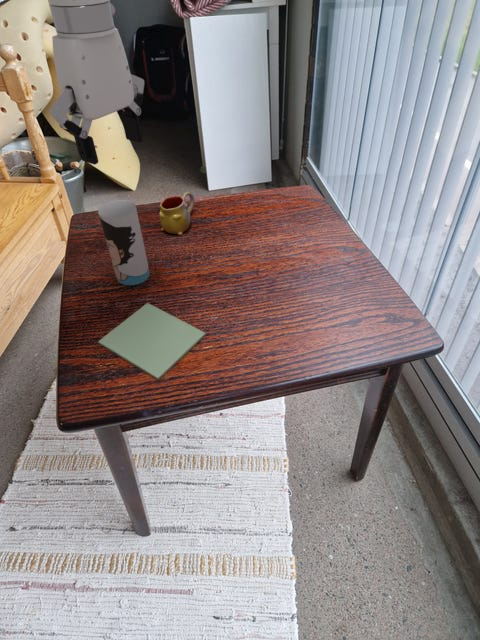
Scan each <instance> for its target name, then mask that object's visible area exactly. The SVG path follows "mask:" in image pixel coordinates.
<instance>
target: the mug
mask: <svg viewBox="0 0 480 640" xmlns="http://www.w3.org/2000/svg"><path fill="white" fill-rule="evenodd" d="M187 196H188V197H189V200H190V201H189V205H188V203H186V201H185V200H186V198H187ZM194 205H195V196H194V194H192V192H190V191H185V192H184V193H183V194H182V195H179V194H178V195H171V196H167V197H165V198H163V199H162V200H161V201H160V204H159V207H160V211H159V223H160V225H161V228H160V230H161V232H166V233H168V234H172V235H178V236H183V234H184V232H186V231H187V230H188V229H189V228H190V226H191V221H192V219H191V213H192V211H193V208H194Z"/></svg>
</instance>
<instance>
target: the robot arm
mask: <svg viewBox="0 0 480 640" xmlns="http://www.w3.org/2000/svg"><path fill="white" fill-rule="evenodd" d="M47 2H48V6H49V9H50V13H51V17H52V21H53V25H54V28H55V32H56V34H55V35H53V36H52V37H51V38H52V39H51V40H52V52H53V61H54V68H55V73H56V78H57V83H58V87H59V92H60V95H59V97H58V98H57V99H56V101H55V102H54V104H53V105H51V107H50V109H49V114H50V115H51V117H52V118H53V119H54V120H55V122H56V123H57V124H58V126H59V127H60V128H61V129H62V130H63V131H65V132H66V133H68V134H69V135H70V136H73V138H74V142H75V145H76V148H77V152H78V155H79V157H80V160H81V161H82V162H84V163H88V164H91V165H97V164H98V163H99V157H98V154H97V153H98V152H97V150H96V146H95V142H94V139H93V137H92V136H90V135H89V134H90V131H91V127H92V123H93V121H95V120H98V119H101V118H103V117H106V116H108V115H111V114H113V113H117V112H119V111H121V110H122V111H123V113H121V120H122V125H123V130H124V135H125V139H126V140H128V141H131V142H135V143H138V144H140V143H142V142H143V140H144V139H143V133H142V127H141V123H140V117H139V116H141V114H142V109H141V107H142V105H143V102H144V89H145V80H144V79H143V78H141V77H139V76H137V75H135V74H132V73H131V70H130V66H129V61H128V58H127V54H126V51H125V47H124V44H123V41H122V38H121V35H120V32H119V29H118V28H116V27H115V22H114V16H115V14H116V8H115V5H113V3H111V1H110V0H47ZM68 115H69V116H71V118H69V116H68Z"/></svg>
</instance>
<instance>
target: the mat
mask: <svg viewBox="0 0 480 640" xmlns="http://www.w3.org/2000/svg"><path fill="white" fill-rule="evenodd" d="M206 333H207V332H205V331H203V330H201V329H199V328H197V327H195V326H193V325H191V324H189V323H187V322H185V321H183V320H181V319H179V318H178V317H176V316H174V315H171V314H170V313H168V312H166V311H164V310H162V309H160V308H158V307H157V306H155V305H152V304H150V303H148V302H147V303H145V304H144V305H143V306H141V307H140V308H139V309H138V310H136V311H135V312H133V314H131V315H130V316H128V317H127V318H125V320H123V321H122V322H121V323H120V324H119V325H117V326H116V327H115V328H113V329H112V330H111V331H109V332H108V333H107V334H106V335H104V336H103V337H102V338H101V339H99V340H98V341H97V343H98V345H100V346H102V347H103V348H105V349H107V350H109V351H110V352H112V353H113V354H115V355H117V356H118V357H120V358H121V359H124V360H125V361H126V362H128V363H130V364H131V365H133V366H134V367H136V368H138V369H139V370H140V371H143V372H144V373H146V374H147V375H149V376H151V377H152V378H154V379H155V380H158V381H160V380H161V379H162V378H163V377H164V376H165V375H166V374H167V373H168V372H169V371H170V370H171V369H172V368H173V367H175V365H177V364H178V363H179V362H180V361H181V360H182V359H183V358H184V357H185V356H186V355H187V354H188V353H189V352H190V351H191V350H192V349H193V348H194V347H195V346H197V344H198V343H199V342H200V341H202V339H204V338H205V337H206V336H207V334H206Z"/></svg>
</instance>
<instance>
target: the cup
mask: <svg viewBox="0 0 480 640" xmlns="http://www.w3.org/2000/svg"><path fill="white" fill-rule="evenodd" d="M97 213H98V217H99V221H100V224H101V227H102V231H103V235H104V238H105V242H106V245H107V249H108V253H109V256H110V259H111V263H112V267H113V271H114V274H115V278H116V280H117V282H118V283H119V284H121V285H124V286H135V285H136V286H137V285H139V284H142V283H144V282H145V281H147V280H148V278H149V277H150V275H151V272H150V266H149V263H148V257H147V253H146V247H145V243H144V239H143V233H142V229H141V225H140V218H139V215H138V210H137V205H136V203H135V202H133V201H131V200H129V199H113V200H110V201H107V202H105V203H103V204H102V205H100V206H99V207H98V209H97Z"/></svg>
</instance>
